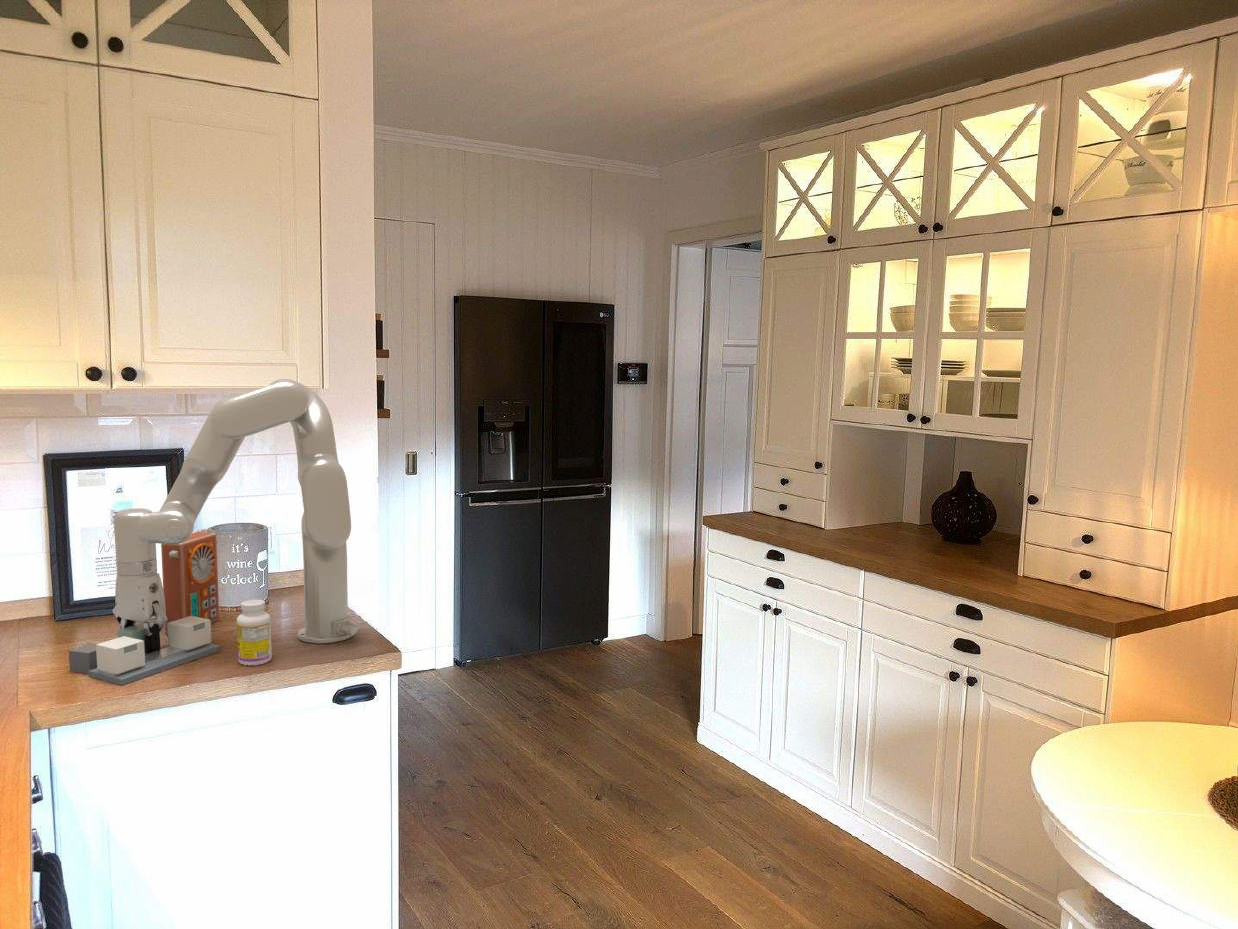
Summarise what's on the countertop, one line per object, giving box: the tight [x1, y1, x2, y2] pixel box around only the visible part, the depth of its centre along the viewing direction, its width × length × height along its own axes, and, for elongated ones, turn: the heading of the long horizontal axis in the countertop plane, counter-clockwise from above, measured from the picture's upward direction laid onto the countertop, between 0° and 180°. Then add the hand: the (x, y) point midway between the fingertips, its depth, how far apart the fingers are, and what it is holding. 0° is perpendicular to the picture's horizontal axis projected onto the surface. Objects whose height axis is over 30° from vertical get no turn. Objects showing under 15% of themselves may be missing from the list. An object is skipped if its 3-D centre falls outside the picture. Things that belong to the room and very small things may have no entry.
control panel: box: [160, 531, 221, 634], centre depth 209 cm, size 21×7×15 cm
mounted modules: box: [95, 616, 212, 674], centre depth 186 cm, size 6×22×5 cm, turn 155°
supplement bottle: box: [236, 598, 273, 666], centre depth 188 cm, size 7×7×13 cm
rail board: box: [88, 642, 221, 686], centre depth 186 cm, size 10×23×1 cm, turn 155°
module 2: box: [117, 622, 162, 652], centre depth 191 cm, size 4×6×6 cm
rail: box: [100, 643, 209, 676], centre depth 186 cm, size 4×22×1 cm, turn 155°
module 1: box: [68, 642, 97, 675], centre depth 182 cm, size 5×5×4 cm
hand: (141, 648), depth 191 cm, fingers open, 6 cm apart
